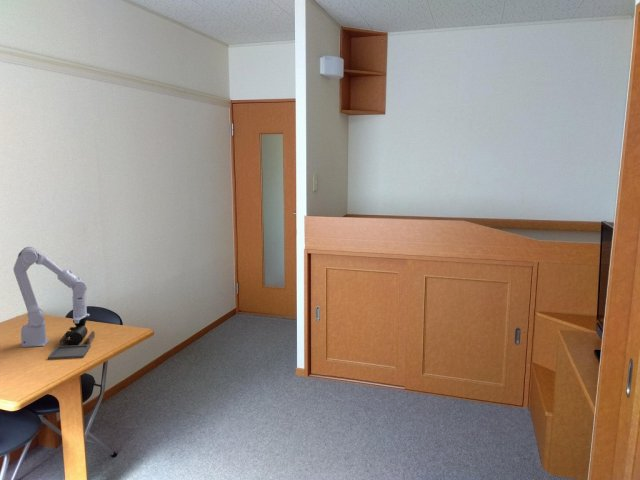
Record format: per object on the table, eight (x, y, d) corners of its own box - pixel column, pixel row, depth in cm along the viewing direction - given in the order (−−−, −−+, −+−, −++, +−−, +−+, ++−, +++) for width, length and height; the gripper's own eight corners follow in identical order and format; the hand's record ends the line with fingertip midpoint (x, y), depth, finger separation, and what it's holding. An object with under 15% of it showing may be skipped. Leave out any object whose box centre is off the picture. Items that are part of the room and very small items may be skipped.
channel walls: (60, 346, 224) (59, 340, 223) (66, 338, 233) (66, 332, 233) (89, 345, 226) (89, 338, 226) (94, 337, 236) (94, 331, 235)
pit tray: (47, 359, 209) (47, 357, 209) (56, 348, 221) (56, 346, 221) (83, 357, 212) (83, 355, 212) (90, 346, 224) (90, 344, 224)
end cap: (82, 346, 225) (82, 331, 224) (65, 346, 223) (65, 332, 222) (88, 338, 234) (87, 324, 233) (71, 339, 233) (71, 325, 232)
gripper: (85, 309, 227) (86, 338, 229) (92, 301, 241) (93, 327, 243) (68, 310, 225) (69, 339, 228) (76, 301, 239) (77, 328, 242)
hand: (80, 333), depth 235 cm, fingers closed
